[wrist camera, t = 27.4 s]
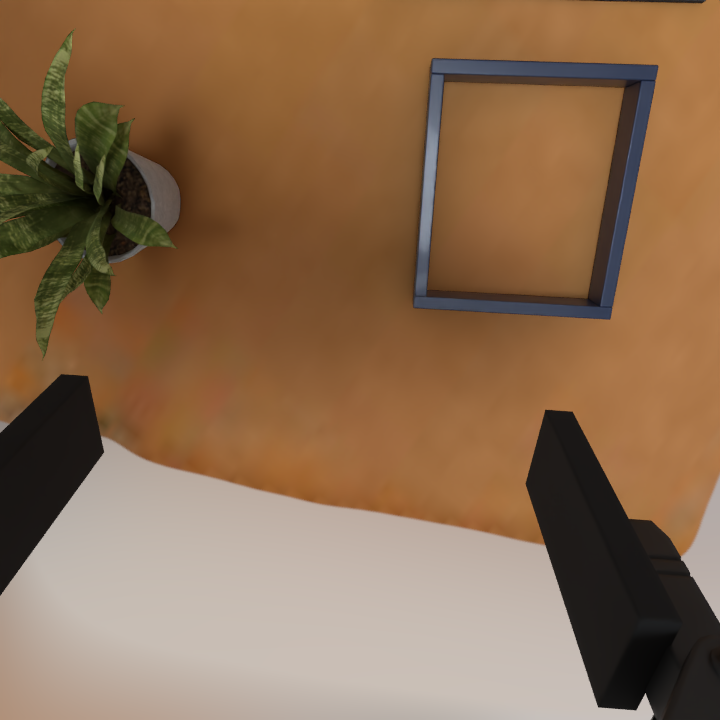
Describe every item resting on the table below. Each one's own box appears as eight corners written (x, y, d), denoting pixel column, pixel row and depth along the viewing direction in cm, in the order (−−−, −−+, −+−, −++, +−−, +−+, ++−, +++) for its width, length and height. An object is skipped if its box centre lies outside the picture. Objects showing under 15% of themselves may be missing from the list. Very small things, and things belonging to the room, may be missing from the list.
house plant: (88, 16, 34) (-176, -122, 19) (281, 134, 35) (184, 97, 20) (18, 218, 39) (-243, 242, 23) (192, 317, 40) (55, 403, 24)
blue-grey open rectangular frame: (430, 66, 33) (431, 57, 31) (641, 73, 33) (659, 64, 30) (412, 300, 38) (413, 308, 36) (597, 311, 37) (610, 319, 35)
